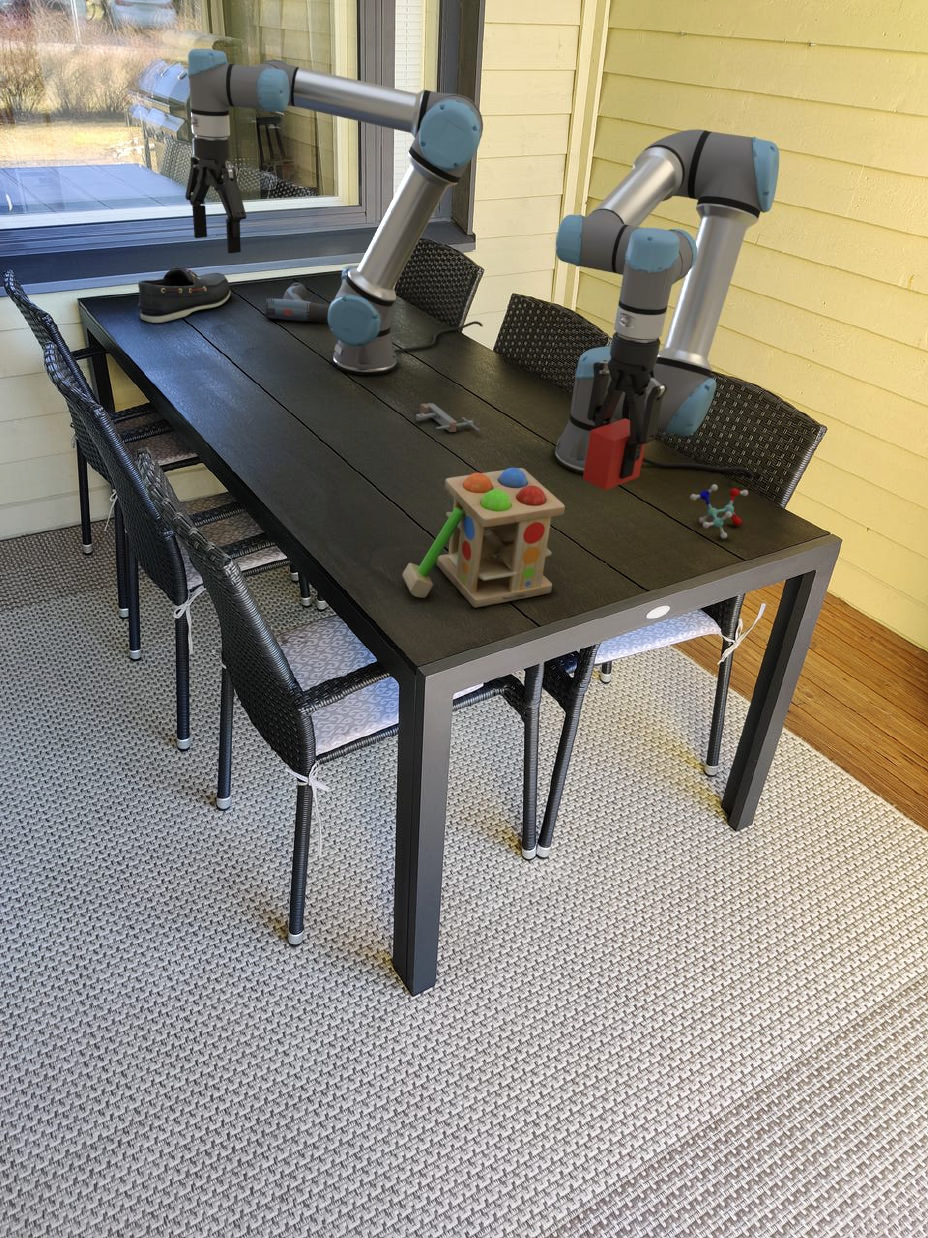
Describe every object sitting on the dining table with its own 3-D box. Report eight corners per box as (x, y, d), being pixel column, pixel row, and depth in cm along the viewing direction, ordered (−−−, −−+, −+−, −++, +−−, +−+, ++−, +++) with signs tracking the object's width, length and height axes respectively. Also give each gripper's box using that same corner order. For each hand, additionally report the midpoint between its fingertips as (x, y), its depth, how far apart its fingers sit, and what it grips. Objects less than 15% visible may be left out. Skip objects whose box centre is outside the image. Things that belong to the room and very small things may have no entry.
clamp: (408, 405, 213) (448, 399, 218) (407, 414, 215) (447, 409, 219) (441, 432, 203) (482, 426, 207) (440, 442, 204) (481, 435, 209)
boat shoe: (248, 301, 272) (246, 262, 267) (158, 325, 248) (153, 283, 243) (214, 293, 278) (211, 255, 272) (123, 315, 254) (117, 274, 248)
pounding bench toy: (424, 619, 150) (431, 515, 140) (388, 572, 160) (393, 472, 150) (553, 592, 159) (568, 494, 149) (511, 550, 169) (523, 455, 159)
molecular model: (753, 532, 175) (738, 478, 173) (701, 547, 178) (685, 494, 177) (757, 522, 185) (742, 472, 184) (707, 537, 189) (692, 487, 187)
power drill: (344, 304, 276) (335, 327, 259) (277, 298, 275) (264, 321, 258) (344, 285, 273) (335, 306, 256) (277, 279, 272) (264, 300, 255)
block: (582, 479, 166) (590, 430, 161) (616, 465, 172) (625, 418, 166) (605, 490, 163) (614, 441, 158) (639, 476, 169) (648, 428, 164)
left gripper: (163, 126, 205) (172, 232, 217) (228, 148, 191) (233, 260, 202) (195, 125, 209) (202, 229, 221) (261, 146, 195) (264, 256, 207)
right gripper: (578, 322, 156) (558, 455, 169) (669, 357, 146) (640, 496, 159) (608, 314, 161) (586, 445, 174) (698, 348, 150) (668, 484, 164)
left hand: (217, 244), depth 212 cm, fingers open, 13 cm apart
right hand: (612, 469), depth 166 cm, fingers closed on block, 5 cm apart
